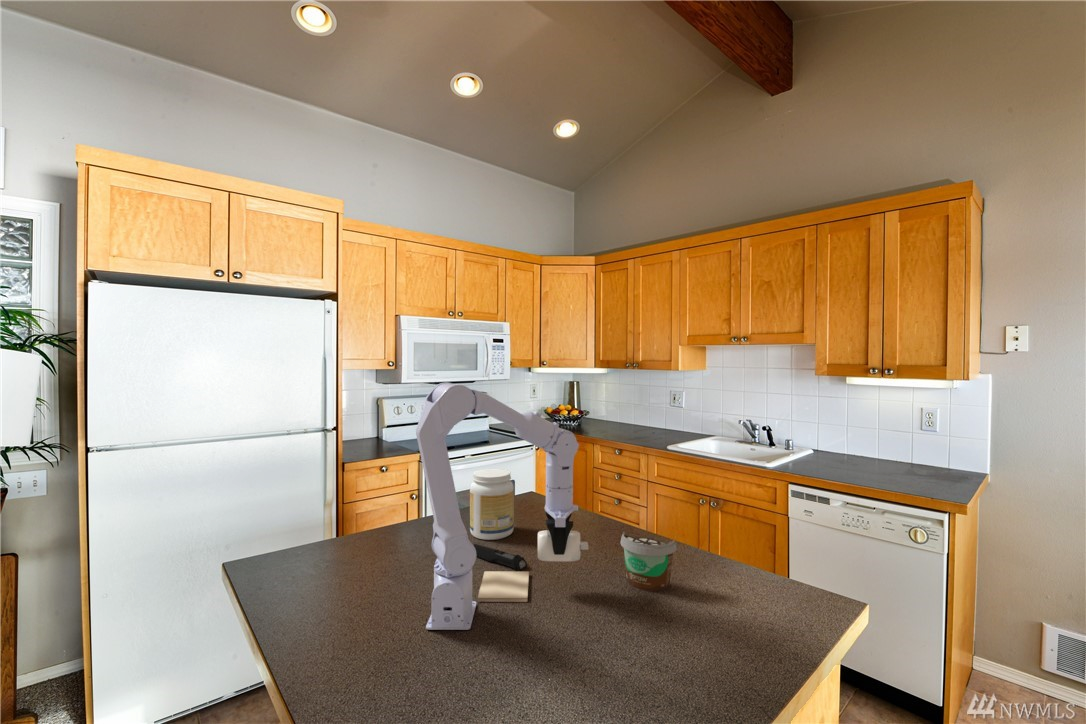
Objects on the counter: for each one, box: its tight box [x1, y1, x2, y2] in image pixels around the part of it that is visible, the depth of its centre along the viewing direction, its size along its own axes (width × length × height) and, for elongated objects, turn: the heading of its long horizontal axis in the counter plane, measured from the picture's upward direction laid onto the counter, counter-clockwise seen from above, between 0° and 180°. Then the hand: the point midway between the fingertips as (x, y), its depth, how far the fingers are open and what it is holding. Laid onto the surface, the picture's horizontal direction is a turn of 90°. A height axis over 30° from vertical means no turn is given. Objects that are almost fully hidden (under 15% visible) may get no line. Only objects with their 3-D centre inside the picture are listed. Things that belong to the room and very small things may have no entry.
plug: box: [537, 529, 589, 562], centre depth 103 cm, size 11×4×5 cm, turn 90°
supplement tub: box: [469, 468, 515, 541], centre depth 136 cm, size 12×12×17 cm
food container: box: [620, 531, 678, 592], centre depth 105 cm, size 12×6×10 cm, turn 62°
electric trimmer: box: [472, 543, 528, 571], centre depth 118 cm, size 4×16×3 cm, turn 55°
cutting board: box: [477, 570, 530, 603], centre depth 104 cm, size 12×10×1 cm
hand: (558, 549), depth 103 cm, fingers closed on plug, 4 cm apart
